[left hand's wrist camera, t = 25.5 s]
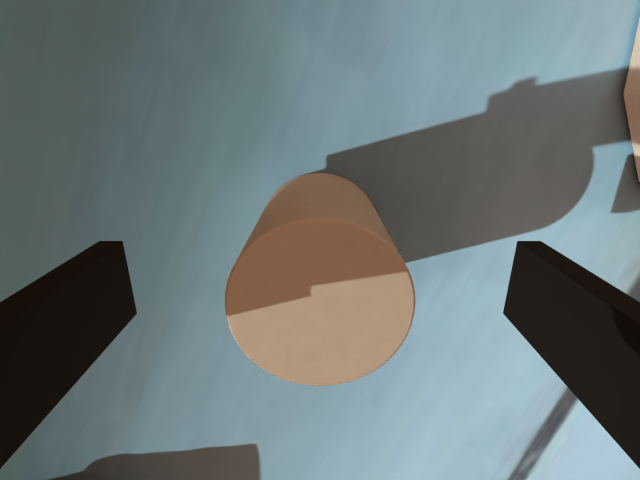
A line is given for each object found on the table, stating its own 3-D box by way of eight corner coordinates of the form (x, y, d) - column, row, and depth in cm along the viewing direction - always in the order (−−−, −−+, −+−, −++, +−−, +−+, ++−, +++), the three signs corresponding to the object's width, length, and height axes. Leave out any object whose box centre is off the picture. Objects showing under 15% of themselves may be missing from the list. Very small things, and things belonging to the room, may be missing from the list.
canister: (302, 148, 16) (290, 177, 9) (401, 215, 18) (455, 286, 11) (240, 245, 18) (190, 332, 11) (334, 301, 19) (343, 413, 12)
